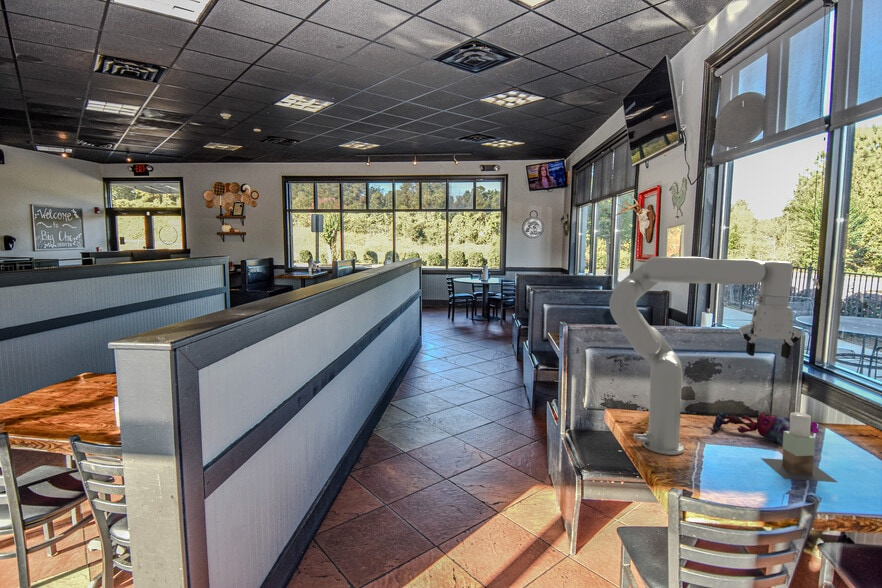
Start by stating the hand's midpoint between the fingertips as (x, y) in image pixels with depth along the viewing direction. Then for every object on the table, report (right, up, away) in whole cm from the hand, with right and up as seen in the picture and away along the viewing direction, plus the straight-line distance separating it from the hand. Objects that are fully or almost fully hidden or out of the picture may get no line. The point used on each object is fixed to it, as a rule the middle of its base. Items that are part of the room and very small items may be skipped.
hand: (767, 356), depth 148 cm
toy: (+14, -33, +22) cm, 42 cm away
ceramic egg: (+7, -23, -4) cm, 24 cm away
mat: (+7, -35, -3) cm, 35 cm away
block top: (+7, -29, -3) cm, 30 cm away
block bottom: (+7, -34, -3) cm, 35 cm away
